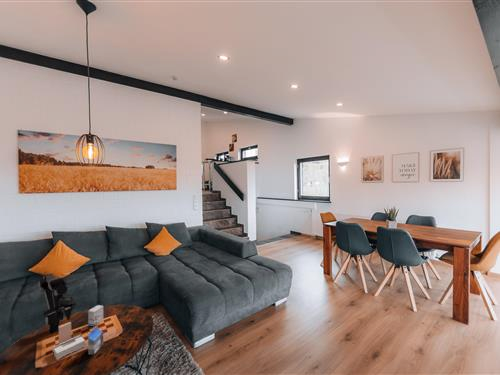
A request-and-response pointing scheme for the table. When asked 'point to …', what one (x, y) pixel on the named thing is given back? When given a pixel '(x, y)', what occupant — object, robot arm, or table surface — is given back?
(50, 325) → the robot arm
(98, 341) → the label tape cartridge
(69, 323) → the pink rectangular block
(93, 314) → the ink box
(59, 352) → the dispenser
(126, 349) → the table surface
